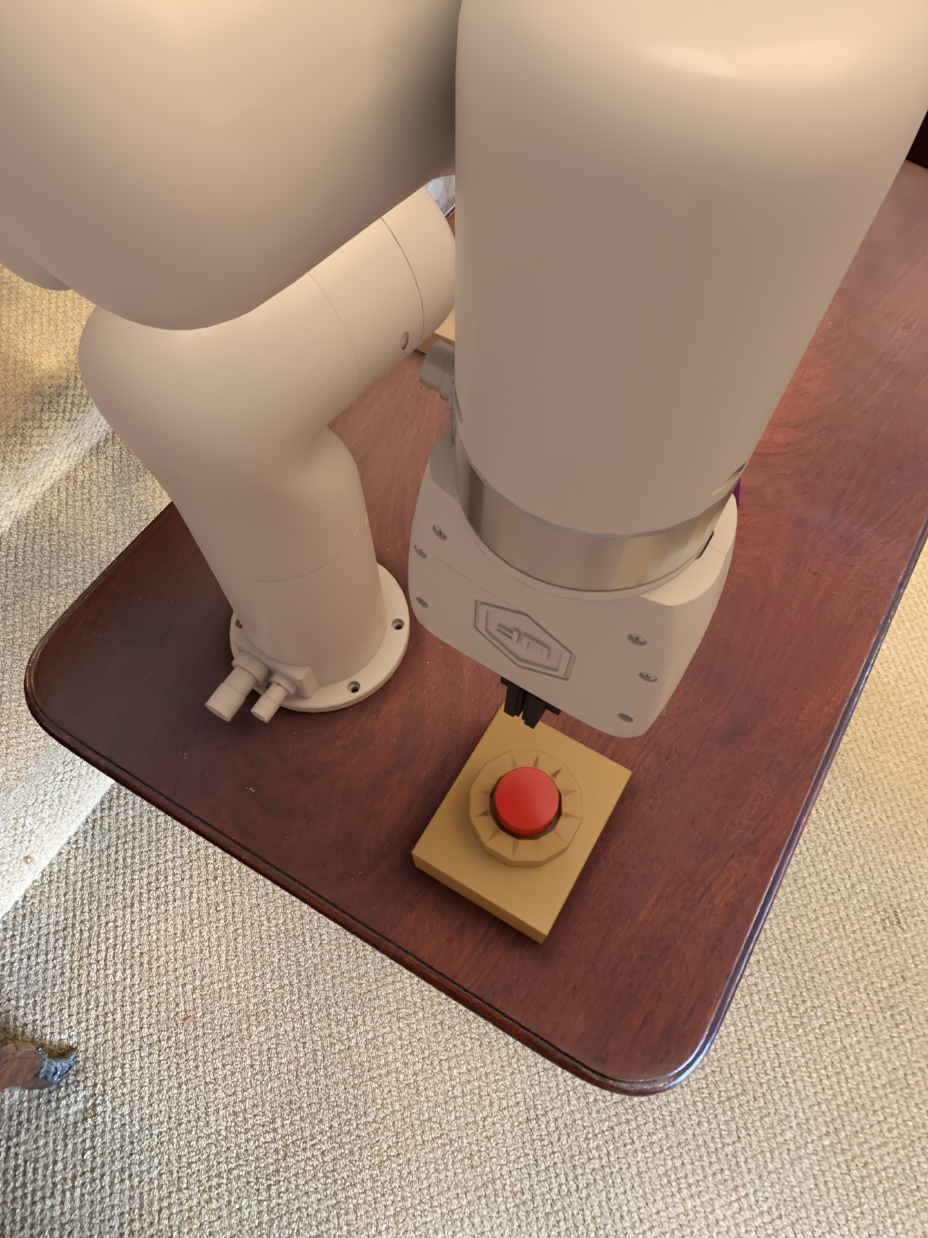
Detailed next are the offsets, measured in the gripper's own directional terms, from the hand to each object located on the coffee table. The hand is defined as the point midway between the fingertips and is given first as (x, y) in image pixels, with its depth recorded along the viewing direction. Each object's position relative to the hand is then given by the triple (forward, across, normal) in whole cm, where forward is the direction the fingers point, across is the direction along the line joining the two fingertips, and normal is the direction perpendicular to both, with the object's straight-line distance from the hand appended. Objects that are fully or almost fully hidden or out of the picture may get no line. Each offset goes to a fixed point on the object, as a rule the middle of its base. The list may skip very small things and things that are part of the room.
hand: (535, 694), depth 40 cm
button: (+12, +1, -2) cm, 12 cm away
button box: (+18, +2, -2) cm, 18 cm away
